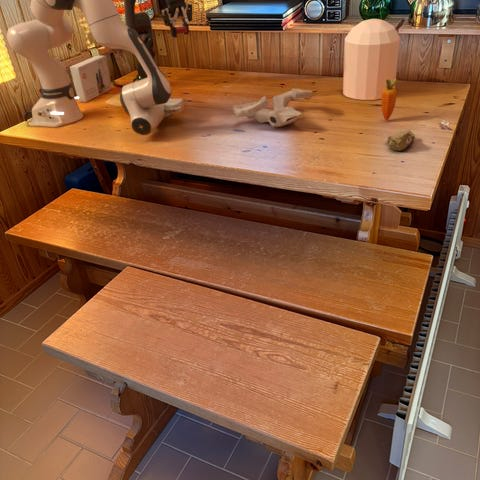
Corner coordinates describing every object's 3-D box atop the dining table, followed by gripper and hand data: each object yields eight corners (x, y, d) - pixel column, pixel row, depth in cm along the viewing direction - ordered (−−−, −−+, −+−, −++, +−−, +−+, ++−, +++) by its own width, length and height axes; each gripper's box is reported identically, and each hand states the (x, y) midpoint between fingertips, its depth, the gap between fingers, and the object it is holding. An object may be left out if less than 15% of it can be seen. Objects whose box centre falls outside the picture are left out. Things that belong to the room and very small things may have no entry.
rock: (408, 140, 153) (379, 139, 152) (414, 122, 149) (384, 120, 148) (421, 154, 144) (391, 153, 143) (428, 135, 140) (396, 133, 139)
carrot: (394, 118, 167) (398, 76, 158) (393, 123, 163) (397, 80, 154) (379, 117, 168) (383, 75, 160) (378, 122, 165) (382, 80, 156)
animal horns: (230, 133, 167) (227, 101, 161) (244, 110, 188) (241, 81, 182) (308, 133, 161) (308, 99, 155) (313, 109, 182) (314, 78, 176)
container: (363, 103, 182) (369, 26, 166) (332, 90, 198) (334, 19, 182) (405, 92, 188) (414, 17, 172) (372, 81, 205) (377, 11, 189)
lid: (182, 33, 178) (181, 29, 177) (170, 33, 181) (169, 29, 180) (189, 30, 182) (189, 26, 181) (178, 30, 184) (177, 26, 183)
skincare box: (87, 102, 214) (77, 67, 204) (78, 102, 215) (68, 66, 206) (113, 88, 229) (105, 54, 220) (104, 88, 231) (96, 54, 222)
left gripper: (178, 102, 173) (186, 90, 184) (126, 104, 176) (137, 92, 187) (181, 118, 177) (188, 106, 188) (130, 120, 180) (140, 107, 191)
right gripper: (182, -16, 179) (188, 31, 188) (152, -11, 171) (160, 38, 181) (194, -16, 174) (200, 32, 184) (164, -10, 166) (171, 40, 176)
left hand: (162, 99), depth 188 cm, fingers closed on jar, 5 cm apart
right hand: (180, 35), depth 182 cm, fingers closed on lid, 5 cm apart
